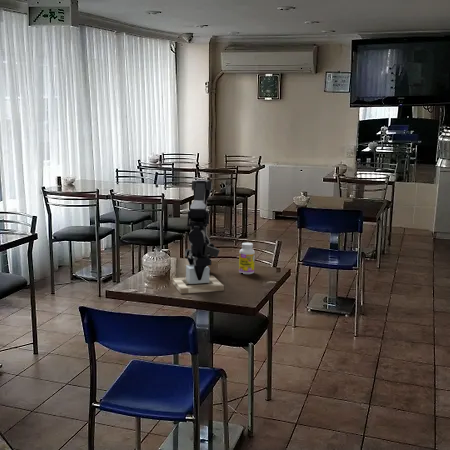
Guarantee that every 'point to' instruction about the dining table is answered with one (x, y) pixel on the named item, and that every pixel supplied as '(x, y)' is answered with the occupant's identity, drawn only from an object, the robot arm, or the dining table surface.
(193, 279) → the grey-blue cabinet box
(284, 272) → the dining table surface
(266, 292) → the dining table surface
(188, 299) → the dining table surface
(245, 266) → the supplement bottle
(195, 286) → the birch pocket board
